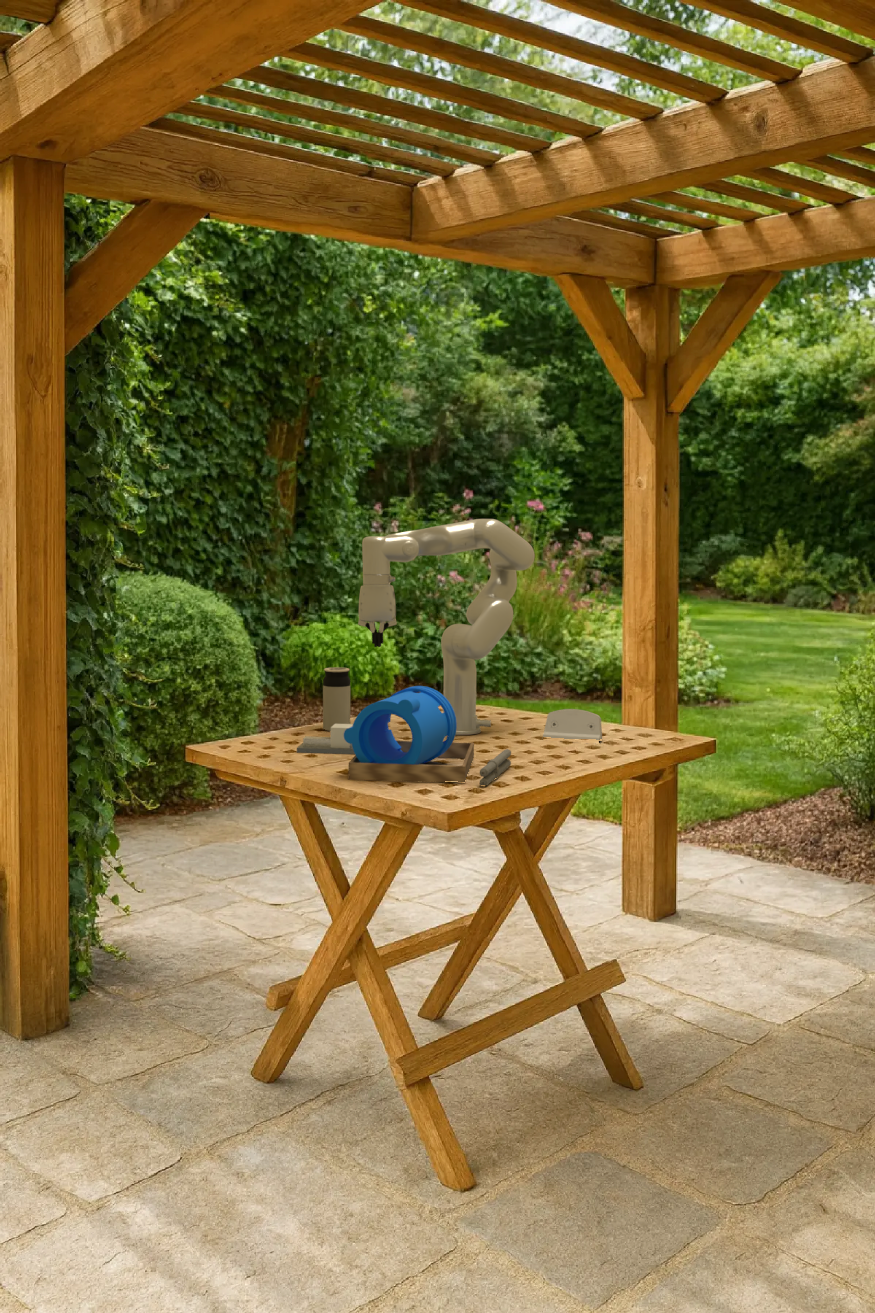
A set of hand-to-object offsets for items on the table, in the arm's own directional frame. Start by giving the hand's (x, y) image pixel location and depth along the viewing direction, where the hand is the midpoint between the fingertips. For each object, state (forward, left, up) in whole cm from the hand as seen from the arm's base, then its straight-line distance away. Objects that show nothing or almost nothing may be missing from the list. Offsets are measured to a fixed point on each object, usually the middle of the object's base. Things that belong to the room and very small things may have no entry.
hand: (377, 646), depth 338 cm
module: (+7, +19, -25) cm, 32 cm away
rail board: (+7, +19, -26) cm, 33 cm away
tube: (-12, +41, -27) cm, 51 cm away
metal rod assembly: (-36, +47, -27) cm, 65 cm away
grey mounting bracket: (-55, -7, -27) cm, 62 cm away
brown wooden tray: (-15, +40, -26) cm, 50 cm away
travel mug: (+14, -13, -26) cm, 33 cm away
